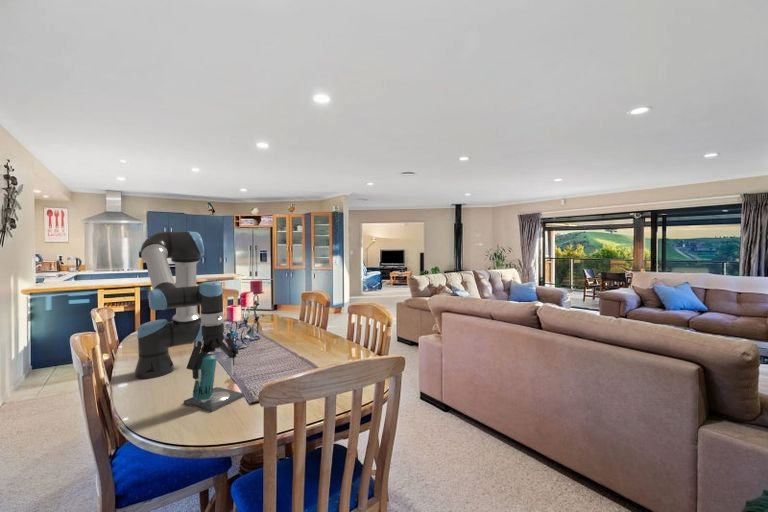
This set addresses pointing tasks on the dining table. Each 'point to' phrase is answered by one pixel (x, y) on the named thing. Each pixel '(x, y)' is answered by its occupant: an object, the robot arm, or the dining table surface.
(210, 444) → the dining table surface
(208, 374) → the beverage bottle
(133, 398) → the dining table surface
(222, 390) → the motor plate
